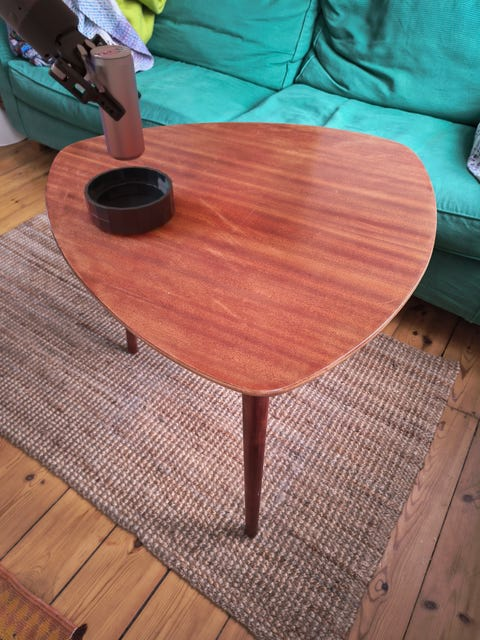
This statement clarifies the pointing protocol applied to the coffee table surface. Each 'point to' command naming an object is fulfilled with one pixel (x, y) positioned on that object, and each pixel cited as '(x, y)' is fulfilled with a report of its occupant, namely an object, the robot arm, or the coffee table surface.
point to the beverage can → (120, 101)
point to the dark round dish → (130, 200)
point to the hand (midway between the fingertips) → (129, 108)
